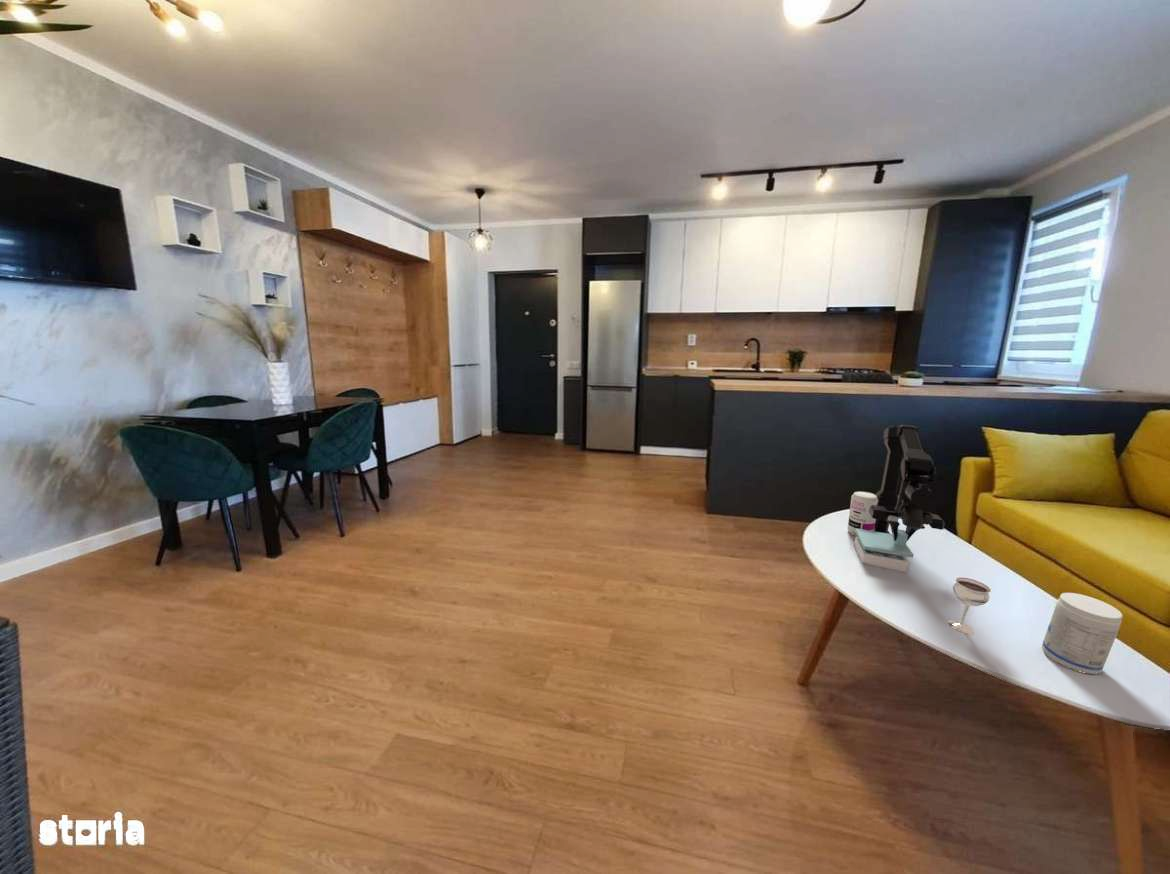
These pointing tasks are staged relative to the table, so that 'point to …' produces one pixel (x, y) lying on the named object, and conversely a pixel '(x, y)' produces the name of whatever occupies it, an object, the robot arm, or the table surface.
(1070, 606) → the supplement tub
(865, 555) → the white shallow square tray
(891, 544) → the lid
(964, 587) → the wineglass
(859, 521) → the supplement can
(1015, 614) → the table surface
